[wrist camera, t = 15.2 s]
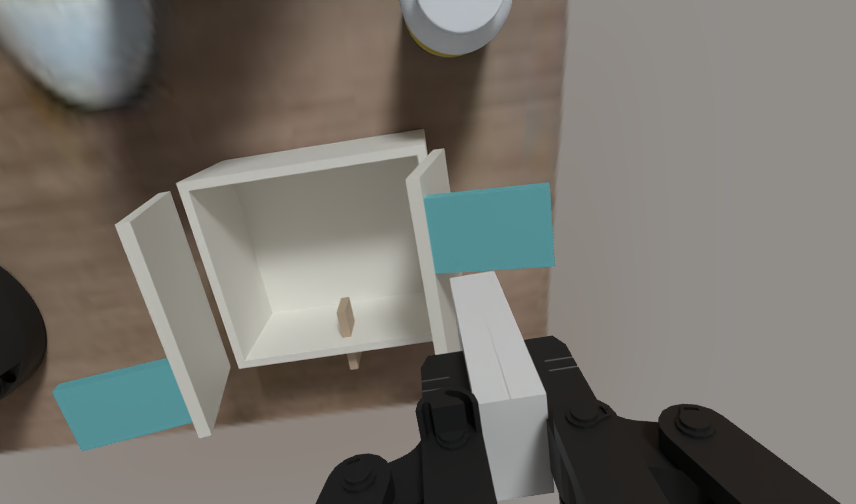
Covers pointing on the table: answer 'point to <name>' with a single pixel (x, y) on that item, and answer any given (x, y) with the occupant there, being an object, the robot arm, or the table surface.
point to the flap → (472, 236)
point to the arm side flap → (179, 334)
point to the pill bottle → (454, 24)
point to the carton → (313, 249)
